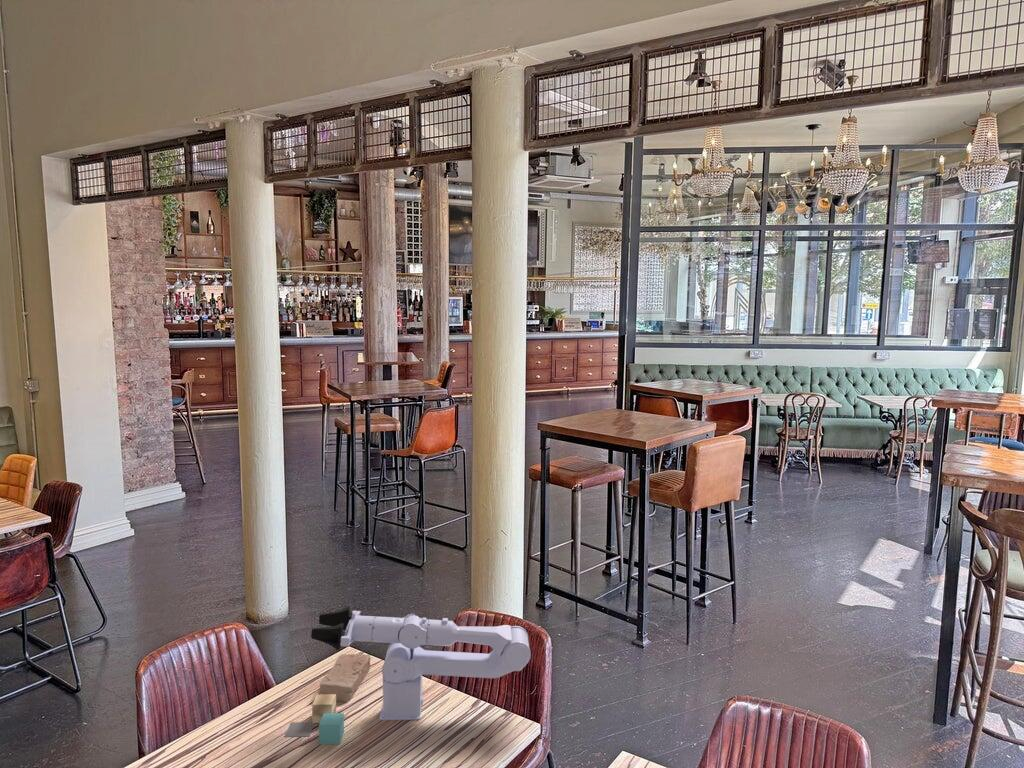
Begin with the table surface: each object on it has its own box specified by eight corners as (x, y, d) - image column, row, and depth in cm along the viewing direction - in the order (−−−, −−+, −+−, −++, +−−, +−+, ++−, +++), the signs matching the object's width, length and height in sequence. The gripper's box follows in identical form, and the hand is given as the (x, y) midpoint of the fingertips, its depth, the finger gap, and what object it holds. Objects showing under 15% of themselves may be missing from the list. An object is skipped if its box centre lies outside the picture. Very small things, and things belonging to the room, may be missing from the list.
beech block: (336, 712, 166) (336, 694, 165) (331, 723, 161) (331, 704, 161) (317, 712, 165) (316, 694, 165) (312, 723, 161) (312, 704, 161)
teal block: (344, 731, 158) (343, 713, 157) (339, 743, 153) (339, 724, 153) (324, 732, 158) (323, 713, 157) (319, 744, 153) (318, 724, 153)
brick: (350, 703, 170) (350, 685, 170) (317, 701, 171) (317, 683, 171) (371, 670, 187) (371, 653, 186) (341, 668, 188) (340, 652, 187)
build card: (354, 712, 166) (354, 711, 166) (343, 745, 153) (343, 744, 153) (295, 713, 166) (295, 712, 165) (279, 746, 153) (278, 745, 153)
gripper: (379, 600, 171) (323, 597, 170) (369, 626, 157) (308, 623, 156) (377, 627, 172) (322, 624, 171) (367, 656, 157) (307, 653, 157)
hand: (315, 626), depth 164 cm, fingers open, 7 cm apart
